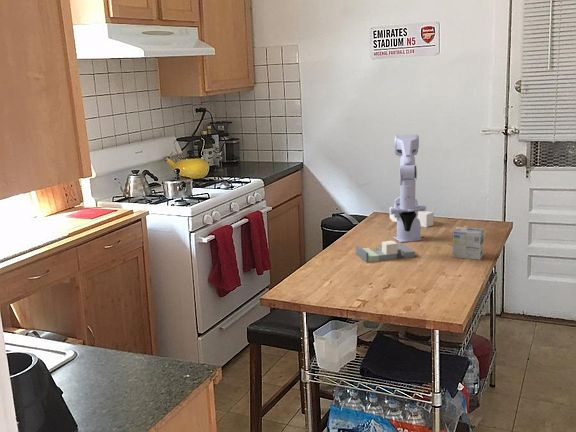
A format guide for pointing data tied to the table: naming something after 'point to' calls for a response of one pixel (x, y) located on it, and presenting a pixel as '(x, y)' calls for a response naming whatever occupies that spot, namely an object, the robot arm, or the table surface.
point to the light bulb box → (468, 243)
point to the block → (389, 247)
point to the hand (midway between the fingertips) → (407, 230)
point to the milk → (420, 218)
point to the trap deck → (380, 256)
